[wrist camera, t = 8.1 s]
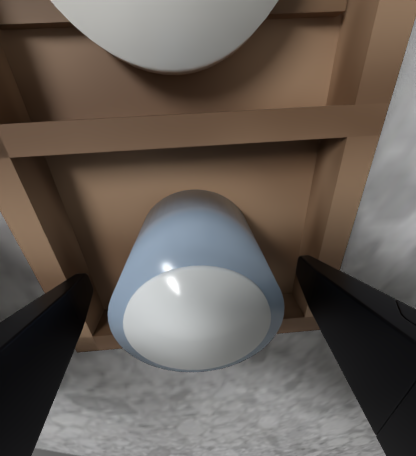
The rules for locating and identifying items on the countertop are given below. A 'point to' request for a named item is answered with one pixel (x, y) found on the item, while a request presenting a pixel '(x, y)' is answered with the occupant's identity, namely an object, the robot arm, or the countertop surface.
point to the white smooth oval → (168, 30)
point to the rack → (193, 140)
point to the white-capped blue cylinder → (195, 287)
